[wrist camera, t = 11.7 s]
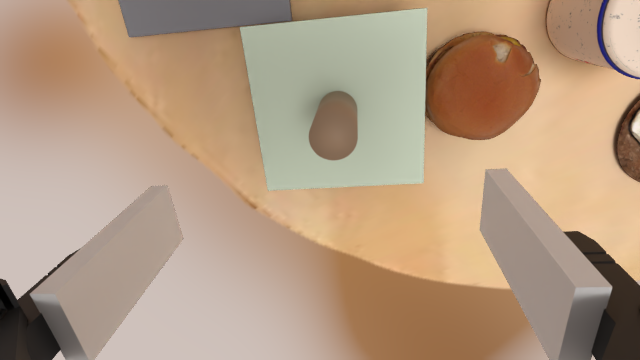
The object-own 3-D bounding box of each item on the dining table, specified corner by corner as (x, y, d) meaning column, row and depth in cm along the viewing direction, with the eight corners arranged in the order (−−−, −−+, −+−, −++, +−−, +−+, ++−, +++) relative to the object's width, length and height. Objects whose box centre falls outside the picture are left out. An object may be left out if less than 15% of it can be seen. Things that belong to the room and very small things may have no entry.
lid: (243, 26, 30) (206, 33, 22) (424, 8, 28) (449, 8, 20) (270, 184, 35) (247, 232, 28) (421, 177, 34) (439, 225, 26)
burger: (418, 134, 38) (426, 149, 34) (418, 38, 34) (427, 42, 30) (520, 126, 37) (541, 141, 33) (531, 25, 33) (556, 28, 29)
